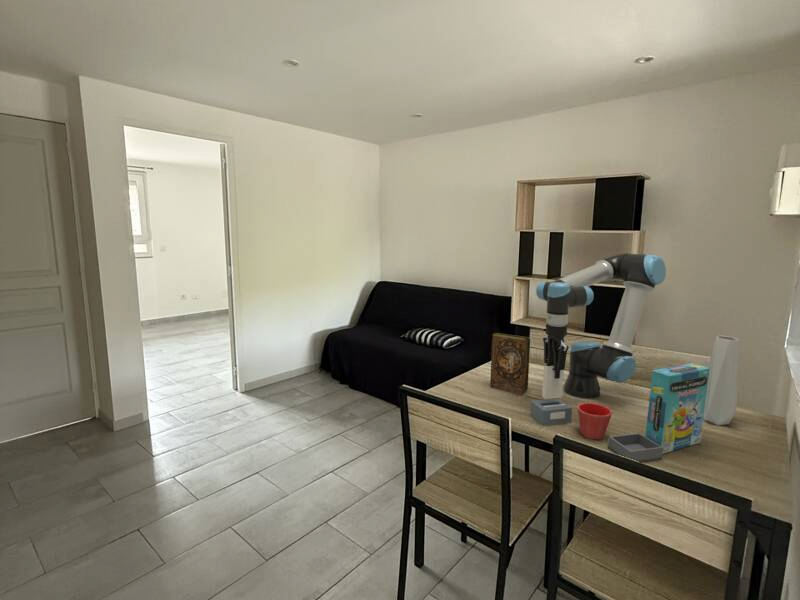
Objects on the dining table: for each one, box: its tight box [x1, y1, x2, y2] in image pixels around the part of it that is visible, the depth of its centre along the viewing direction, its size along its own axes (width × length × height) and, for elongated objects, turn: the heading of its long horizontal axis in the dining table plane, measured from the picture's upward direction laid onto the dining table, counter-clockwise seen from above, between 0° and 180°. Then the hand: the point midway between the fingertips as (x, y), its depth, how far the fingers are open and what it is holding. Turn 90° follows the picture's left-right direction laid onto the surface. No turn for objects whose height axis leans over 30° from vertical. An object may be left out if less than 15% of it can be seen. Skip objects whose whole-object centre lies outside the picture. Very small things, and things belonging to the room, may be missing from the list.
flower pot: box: [577, 402, 613, 440], centre depth 151 cm, size 11×11×10 cm
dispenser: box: [529, 398, 573, 426], centre depth 163 cm, size 12×9×6 cm
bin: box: [607, 432, 664, 463], centre depth 139 cm, size 12×10×4 cm
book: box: [489, 332, 531, 395], centre depth 191 cm, size 16×6×25 cm, turn 58°
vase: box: [703, 335, 740, 426], centre depth 160 cm, size 12×12×33 cm
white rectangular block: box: [541, 365, 565, 400], centre depth 161 cm, size 7×2×12 cm, turn 102°
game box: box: [644, 362, 710, 455], centre depth 142 cm, size 20×6×27 cm, turn 114°
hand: (552, 384), depth 161 cm, fingers closed on white rectangular block, 2 cm apart
